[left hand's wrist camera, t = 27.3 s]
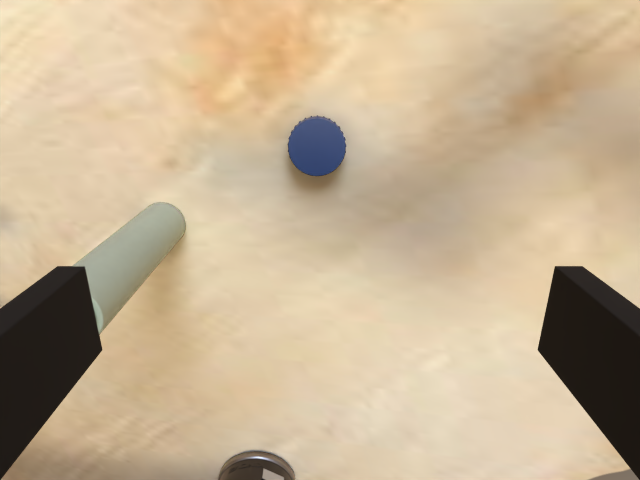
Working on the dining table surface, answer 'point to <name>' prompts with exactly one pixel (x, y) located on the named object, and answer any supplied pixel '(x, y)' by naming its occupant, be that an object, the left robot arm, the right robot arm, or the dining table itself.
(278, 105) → the dining table surface
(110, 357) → the dining table surface
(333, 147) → the lid
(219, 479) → the right robot arm
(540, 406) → the dining table surface
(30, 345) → the left robot arm
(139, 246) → the pale green cylinder
